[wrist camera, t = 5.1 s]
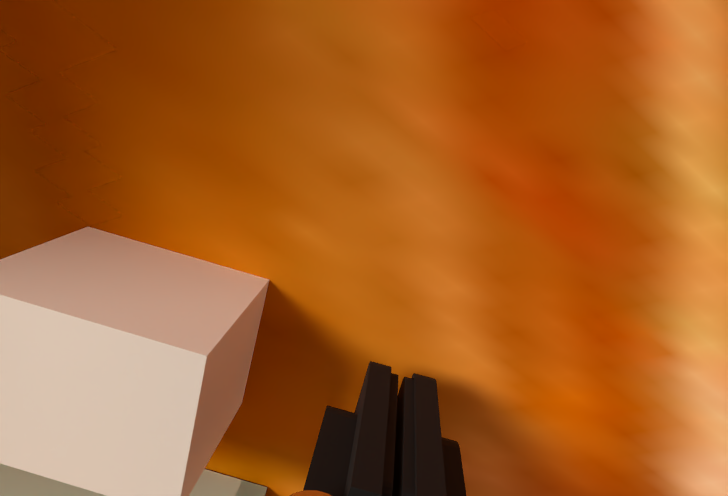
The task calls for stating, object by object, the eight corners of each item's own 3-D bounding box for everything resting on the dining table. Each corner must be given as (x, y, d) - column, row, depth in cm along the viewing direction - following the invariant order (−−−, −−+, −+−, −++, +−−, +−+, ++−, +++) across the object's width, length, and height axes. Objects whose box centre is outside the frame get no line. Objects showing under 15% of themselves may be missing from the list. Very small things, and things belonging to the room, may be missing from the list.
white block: (270, 278, 12) (207, 356, 8) (243, 401, 14) (176, 516, 10) (90, 225, 12) (-53, 279, 9) (79, 352, 14) (-50, 448, 10)
